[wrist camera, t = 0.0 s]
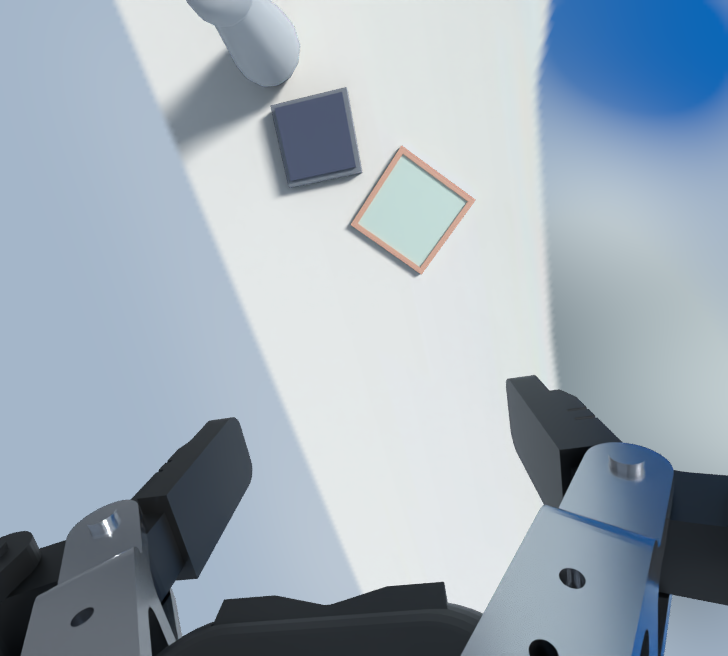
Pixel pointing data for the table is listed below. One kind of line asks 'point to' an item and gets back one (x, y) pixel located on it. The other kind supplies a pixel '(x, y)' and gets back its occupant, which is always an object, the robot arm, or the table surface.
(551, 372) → the table surface
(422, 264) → the marked square
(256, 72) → the salt shaker
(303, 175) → the ink pad
